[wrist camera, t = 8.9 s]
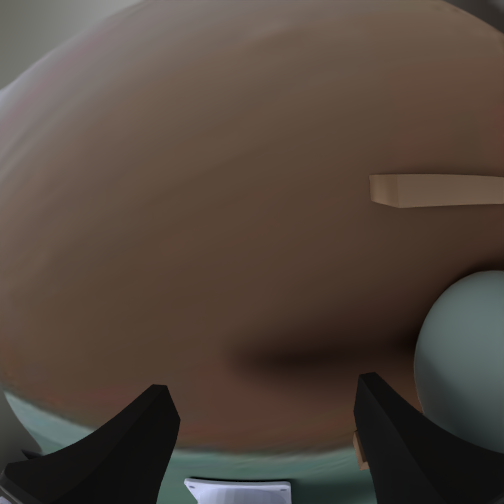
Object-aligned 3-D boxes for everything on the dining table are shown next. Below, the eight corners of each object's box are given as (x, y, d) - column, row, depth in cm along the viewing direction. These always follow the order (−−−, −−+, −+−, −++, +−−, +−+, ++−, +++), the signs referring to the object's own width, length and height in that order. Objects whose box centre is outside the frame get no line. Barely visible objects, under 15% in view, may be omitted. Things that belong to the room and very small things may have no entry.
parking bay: (505, 384, 12) (520, 402, 10) (352, 440, 13) (360, 470, 11) (546, 181, 8) (573, 186, 6) (368, 174, 10) (396, 174, 7)
